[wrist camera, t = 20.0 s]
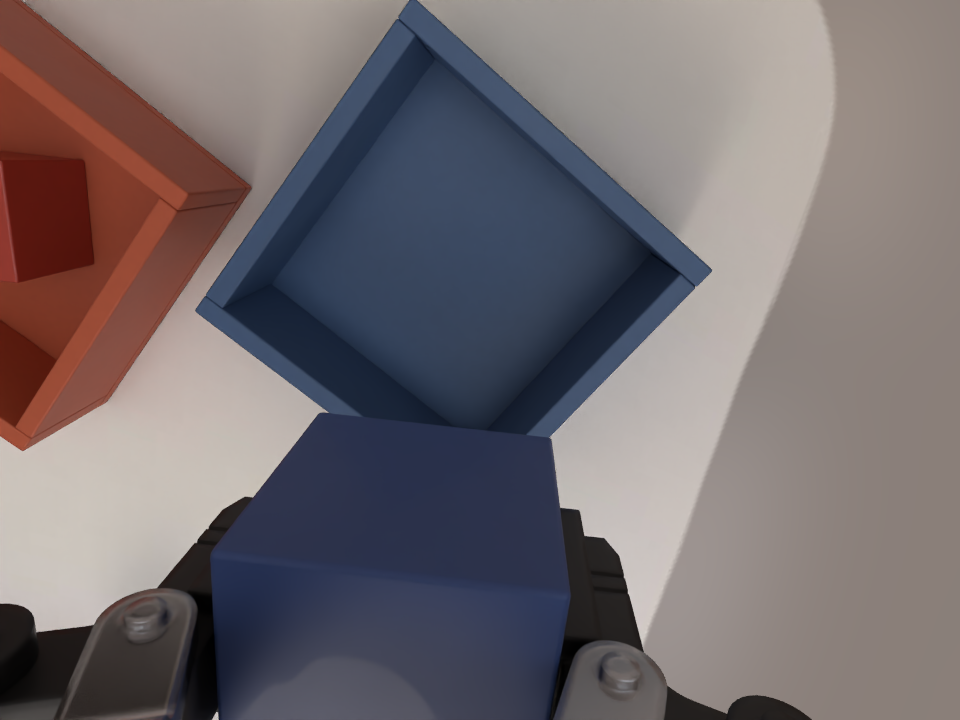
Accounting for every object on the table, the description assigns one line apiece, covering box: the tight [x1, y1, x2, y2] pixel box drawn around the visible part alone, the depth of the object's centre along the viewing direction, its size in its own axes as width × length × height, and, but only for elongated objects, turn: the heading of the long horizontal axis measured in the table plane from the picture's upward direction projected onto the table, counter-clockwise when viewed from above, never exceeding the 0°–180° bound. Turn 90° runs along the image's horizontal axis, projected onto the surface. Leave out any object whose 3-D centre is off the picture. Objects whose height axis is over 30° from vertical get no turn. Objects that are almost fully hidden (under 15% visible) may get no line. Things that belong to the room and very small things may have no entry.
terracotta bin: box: [0, 0, 252, 451], centre depth 25 cm, size 14×14×6 cm
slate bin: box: [195, 0, 712, 438], centre depth 25 cm, size 14×14×6 cm
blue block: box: [210, 413, 571, 720], centre depth 11 cm, size 5×5×5 cm
